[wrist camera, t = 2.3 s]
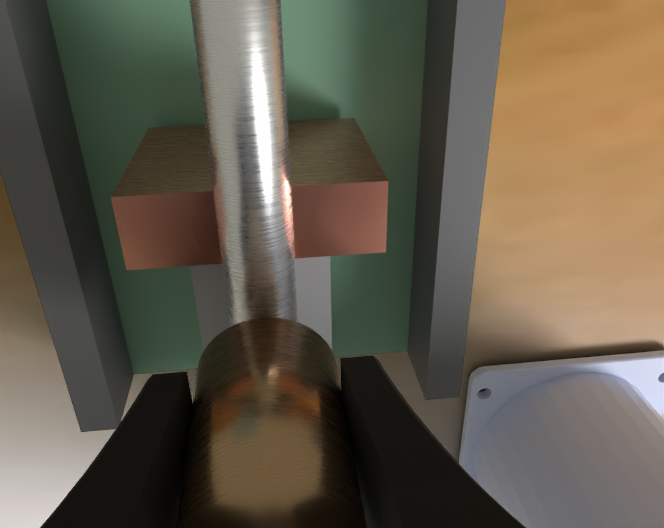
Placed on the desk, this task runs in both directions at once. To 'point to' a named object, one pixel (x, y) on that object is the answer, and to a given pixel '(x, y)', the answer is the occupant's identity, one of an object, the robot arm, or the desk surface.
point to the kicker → (257, 274)
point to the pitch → (186, 110)
